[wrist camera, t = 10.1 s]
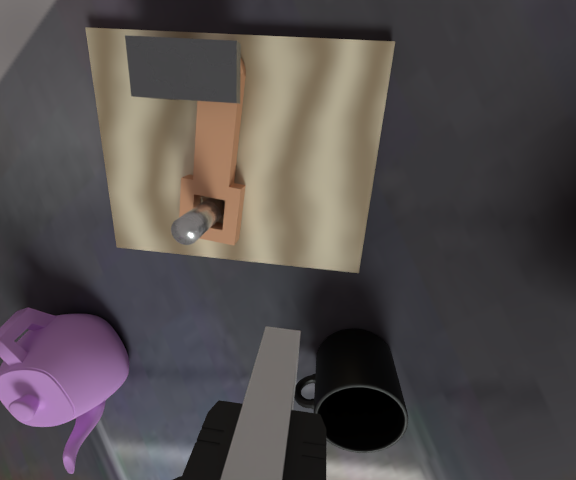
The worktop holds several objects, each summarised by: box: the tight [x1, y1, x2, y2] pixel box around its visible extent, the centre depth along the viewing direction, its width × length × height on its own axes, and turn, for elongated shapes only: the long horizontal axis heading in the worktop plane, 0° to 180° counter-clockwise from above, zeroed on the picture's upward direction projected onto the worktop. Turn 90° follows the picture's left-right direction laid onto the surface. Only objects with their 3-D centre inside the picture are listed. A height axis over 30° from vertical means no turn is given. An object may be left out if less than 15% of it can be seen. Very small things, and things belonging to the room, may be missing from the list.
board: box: [86, 28, 395, 273], centre depth 33 cm, size 28×22×1 cm
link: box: [179, 59, 246, 245], centre depth 31 cm, size 18×6×2 cm, turn 170°
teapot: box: [0, 307, 129, 474], centre depth 41 cm, size 13×20×11 cm
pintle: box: [171, 197, 225, 245], centre depth 31 cm, size 2×2×8 cm
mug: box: [294, 329, 408, 453], centre depth 37 cm, size 9×12×9 cm
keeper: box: [125, 35, 241, 104], centre depth 28 cm, size 9×4×5 cm, turn 86°
